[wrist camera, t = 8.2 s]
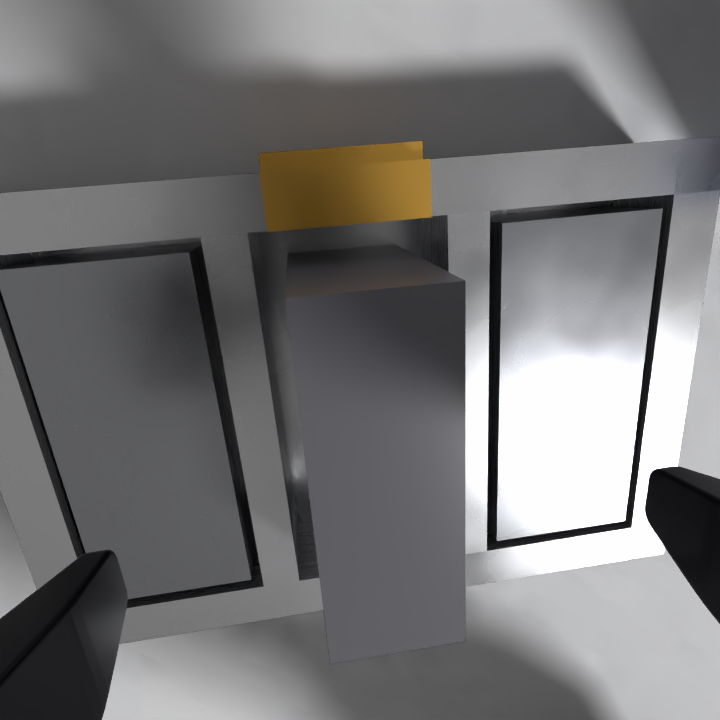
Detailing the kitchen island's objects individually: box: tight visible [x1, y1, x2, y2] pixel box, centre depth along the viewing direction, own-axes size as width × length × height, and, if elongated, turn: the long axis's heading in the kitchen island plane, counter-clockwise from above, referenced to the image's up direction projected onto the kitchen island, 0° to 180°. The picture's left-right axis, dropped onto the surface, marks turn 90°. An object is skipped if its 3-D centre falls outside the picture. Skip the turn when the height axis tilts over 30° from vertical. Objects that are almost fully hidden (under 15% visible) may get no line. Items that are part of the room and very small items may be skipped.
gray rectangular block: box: [285, 244, 466, 664], centre depth 12 cm, size 8×3×6 cm, turn 4°
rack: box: [0, 136, 720, 644], centre depth 14 cm, size 12×18×4 cm
